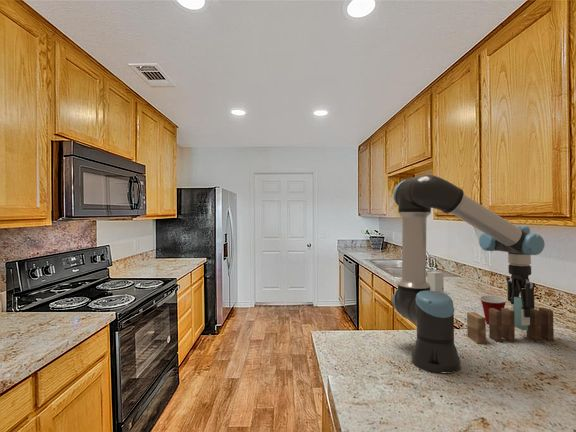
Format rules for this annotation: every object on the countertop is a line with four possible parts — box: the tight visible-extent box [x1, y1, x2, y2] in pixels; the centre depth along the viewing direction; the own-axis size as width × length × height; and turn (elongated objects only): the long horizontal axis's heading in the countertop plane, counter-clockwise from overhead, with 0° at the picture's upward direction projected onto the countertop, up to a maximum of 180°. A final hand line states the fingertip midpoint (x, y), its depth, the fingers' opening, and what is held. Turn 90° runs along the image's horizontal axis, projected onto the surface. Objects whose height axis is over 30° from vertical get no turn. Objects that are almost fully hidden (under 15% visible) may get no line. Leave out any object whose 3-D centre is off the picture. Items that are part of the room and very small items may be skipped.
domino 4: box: [526, 308, 542, 343], centre depth 134 cm, size 2×5×12 cm, turn 179°
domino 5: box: [538, 307, 555, 343], centre depth 134 cm, size 2×5×12 cm, turn 179°
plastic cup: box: [479, 294, 508, 325], centre depth 154 cm, size 11×11×12 cm
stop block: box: [466, 311, 487, 345], centre depth 135 cm, size 3×8×10 cm, turn 179°
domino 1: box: [488, 308, 503, 343], centre depth 135 cm, size 2×5×12 cm, turn 179°
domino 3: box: [514, 296, 528, 331], centre depth 135 cm, size 2×5×12 cm, turn 179°
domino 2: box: [501, 307, 516, 343], centre depth 135 cm, size 2×5×12 cm, turn 179°
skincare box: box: [426, 270, 445, 294], centre depth 208 cm, size 8×6×15 cm
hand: (520, 322), depth 135 cm, fingers closed on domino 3, 5 cm apart
